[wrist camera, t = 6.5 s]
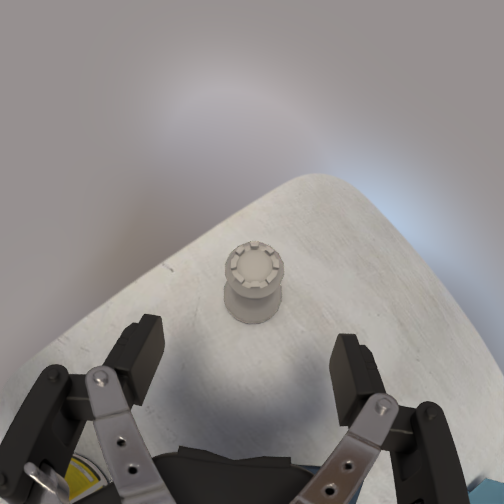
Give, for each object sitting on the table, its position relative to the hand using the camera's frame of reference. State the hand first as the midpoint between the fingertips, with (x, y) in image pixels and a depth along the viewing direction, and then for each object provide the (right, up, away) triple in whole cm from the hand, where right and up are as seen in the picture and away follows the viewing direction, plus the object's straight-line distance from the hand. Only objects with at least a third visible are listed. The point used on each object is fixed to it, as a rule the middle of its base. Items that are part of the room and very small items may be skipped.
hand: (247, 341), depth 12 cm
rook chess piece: (0, 0, +10) cm, 10 cm away
